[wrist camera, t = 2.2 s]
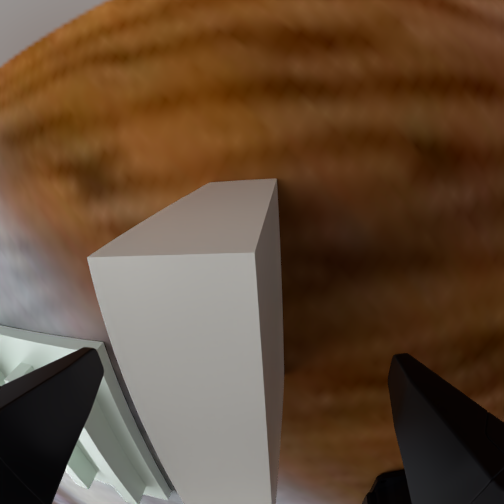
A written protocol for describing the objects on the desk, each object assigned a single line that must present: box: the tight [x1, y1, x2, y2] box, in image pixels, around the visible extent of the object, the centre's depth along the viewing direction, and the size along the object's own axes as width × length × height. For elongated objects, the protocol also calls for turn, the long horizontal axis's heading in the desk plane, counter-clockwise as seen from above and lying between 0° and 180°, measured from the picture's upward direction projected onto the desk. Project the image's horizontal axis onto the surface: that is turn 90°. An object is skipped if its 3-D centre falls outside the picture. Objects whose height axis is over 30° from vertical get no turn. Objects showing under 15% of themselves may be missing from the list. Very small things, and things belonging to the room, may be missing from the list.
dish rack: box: [0, 325, 171, 504], centre depth 17 cm, size 18×16×3 cm
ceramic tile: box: [87, 179, 284, 504], centre depth 9 cm, size 2×9×8 cm, turn 4°
